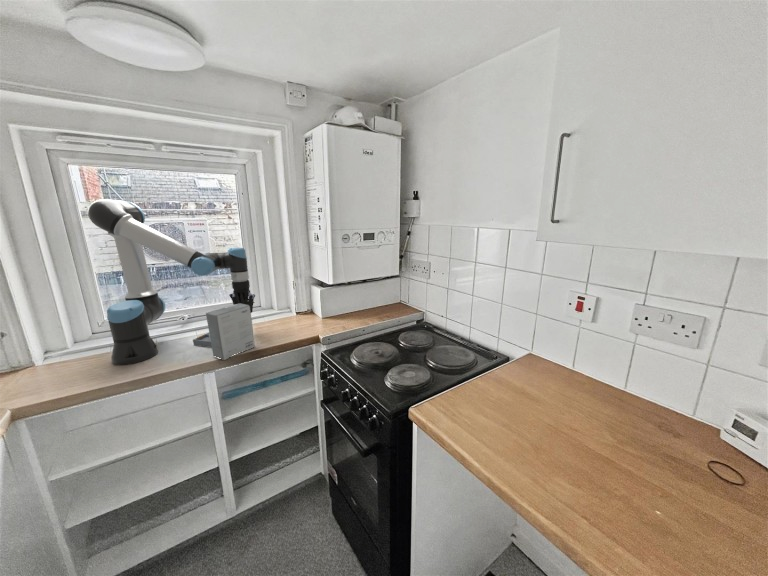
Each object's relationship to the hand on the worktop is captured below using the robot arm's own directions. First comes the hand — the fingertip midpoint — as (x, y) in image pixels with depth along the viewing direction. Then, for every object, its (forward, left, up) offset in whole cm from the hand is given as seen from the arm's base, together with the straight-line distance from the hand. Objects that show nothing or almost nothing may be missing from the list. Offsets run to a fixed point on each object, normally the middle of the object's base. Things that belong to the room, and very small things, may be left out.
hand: (246, 326), depth 148 cm
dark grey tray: (-10, -6, -5) cm, 12 cm away
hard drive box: (+8, -18, -5) cm, 20 cm away
